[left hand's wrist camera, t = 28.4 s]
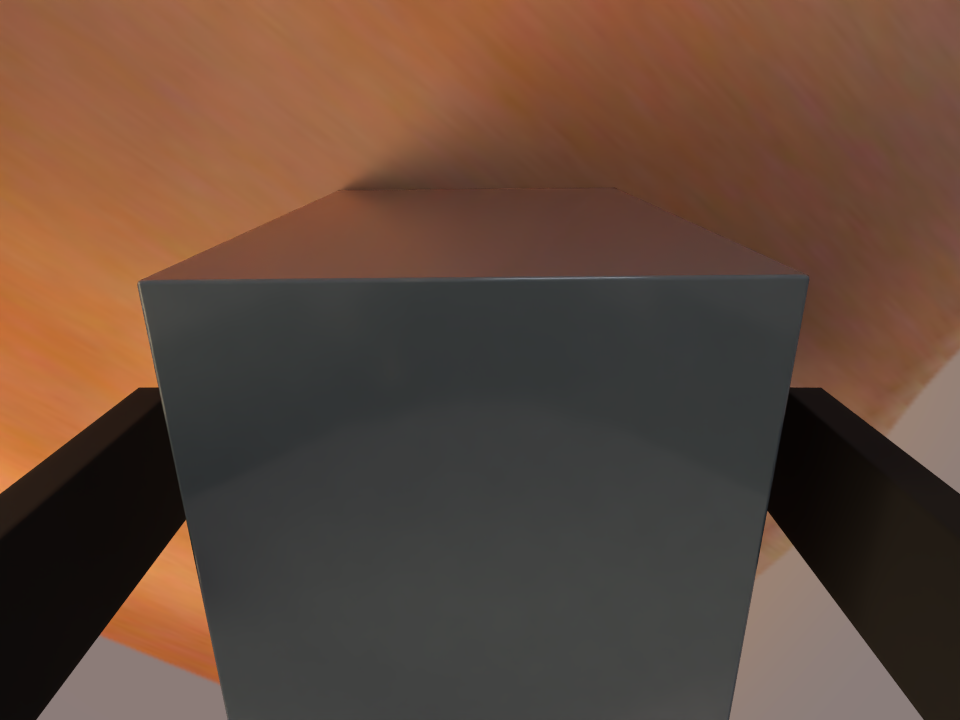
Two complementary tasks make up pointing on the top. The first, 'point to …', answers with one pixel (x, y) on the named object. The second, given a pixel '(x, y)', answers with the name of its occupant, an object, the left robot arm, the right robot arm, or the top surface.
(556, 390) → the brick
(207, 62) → the top surface
